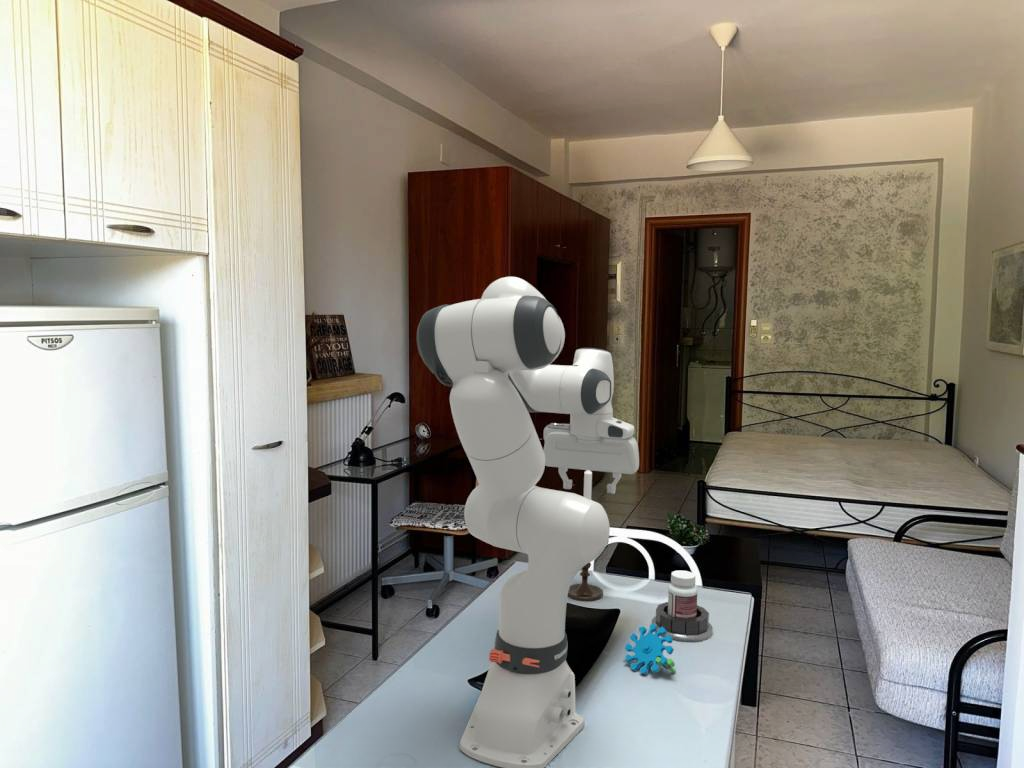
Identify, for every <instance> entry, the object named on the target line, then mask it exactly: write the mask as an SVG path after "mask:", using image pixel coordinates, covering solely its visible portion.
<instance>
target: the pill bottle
mask: <svg viewBox="0 0 1024 768" xmlns="http://www.w3.org/2000/svg"><path fill="white" fill-rule="evenodd" d="M670 582H671V583H670V584H669V586H668V595H667V596H668V597H667V602H668V615H670V616H673V617H676V618H682V619H695V618H696V615H697V605H698V588H697V587H696V585H695V584H696V574H695V573H693V572H691V571H688V570H674V571H671V574H670Z"/></svg>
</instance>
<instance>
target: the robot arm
mask: <svg viewBox="0 0 1024 768" xmlns="http://www.w3.org/2000/svg"><path fill="white" fill-rule="evenodd" d="M565 338H566V331H565V328H564V323H563V322H562V319H561V317H560V316H559V314H558V311H557V309H556V308H555V307H554V305H553V304H552V303H550V302H549V301H548V300H547V299H546V297H545V296H544V294H542V293H541V292H540V291H539V290H538V289H537V288H536V287H534V286H533V285H532V284H531V283H529V282H528V281H526V280H525V279H523V278H520V277H517V276H505V277H500V278H498V279H496V280H494V281H492V282H491V283H490V284H489V285H488V286H487V287H486V289H484V291H483V293H482V295H481V298H477V299H472V300H466V301H462V302H458V303H453V304H445V303H444V304H442V305H439V306H437V307H434V308H432V309H431V308H430V310H427V311H425V313H424V314H423V315H422V316H421V318H420V321H419V323H418V325H417V330H416V345H417V351H418V354H419V356H420V357H421V359H422V361H423V363H424V365H425V366H426V368H428V369H429V371H430V372H431V373H432V374H434V376H435V377H436V379H437V380H438V382H439V383H440V384H443V385H444V386H447V387H450V388H451V389H450V393H449V404H450V409H451V410H450V411H451V415H452V419H453V423H454V426H455V429H456V433H457V435H458V438H459V441H460V443H461V446H462V448H463V450H464V452H465V454H466V457H467V458H468V461H469V463H470V465H471V468H472V470H473V472H474V475H475V477H476V480H477V483H478V484H477V486H476V487H475V488H474V489H472V491H471V492H470V494H469V495H468V497H467V499H466V502H465V506H464V510H463V511H464V513H463V516H464V521H465V525H466V526H465V527H466V529H467V531H468V532H469V534H470V535H472V536H473V537H474V538H476V539H478V540H480V541H482V542H485V543H486V544H489V545H491V546H493V547H496V548H500V549H504V550H510V551H512V552H513V551H514V552H518V553H521V554H522V553H523V554H526V555H527V558H528V565H527V568H526V570H524V571H520V572H518V573H515V574H514V575H512V576H510V577H509V578H508V579H507V580H506V581H505V582H504V583H503V585H502V587H501V589H500V591H499V600H498V601H499V605H498V606H499V607H498V613H499V614H498V629H497V631H496V636H495V640H494V643H493V644H494V645H493V648H491V649H490V651H489V655H488V656H489V657H488V660H489V662H490V665H489V668H488V671H487V674H486V677H485V679H484V682H483V686H482V688H481V692H480V696H479V697H478V699H477V701H476V703H475V706H474V708H473V710H472V713H471V715H470V717H469V719H468V722H467V725H466V727H465V728H464V730H463V733H462V737H461V738H460V741H459V747H458V748H459V750H460V751H461V752H462V753H464V754H465V755H466V756H468V757H470V758H472V759H474V760H476V761H479V762H481V763H485V764H488V765H492V766H496V767H500V768H546V766H548V765H549V763H551V762H552V760H553V759H554V758H555V757H556V756H557V755H558V754H559V753H560V752H561V751H562V750H563V749H564V748H565V747H567V745H568V744H569V743H570V742H571V741H572V740H573V738H574V737H575V736H577V734H578V733H580V732H581V730H582V729H583V728H584V727H585V721H584V719H585V718H583V716H581V715H580V714H579V713H577V711H576V680H575V679H576V677H575V676H576V675H575V674H574V672H573V671H572V669H571V667H570V666H569V664H568V662H567V660H566V659H567V657H568V649H569V648H568V647H569V646H568V635H567V633H566V631H565V630H566V616H567V614H566V613H567V604H568V603H567V602H568V591H569V588H570V586H571V585H572V583H573V581H574V579H575V578H576V576H577V574H579V573H578V572H580V571H581V570H582V568H583V567H584V566H585V565H586V564H588V563H591V562H593V561H595V560H596V559H597V558H599V556H600V555H601V554H602V553H603V552H604V550H605V548H606V546H607V545H608V544H607V542H608V543H609V541H608V538H609V537H610V529H611V527H610V521H609V520H610V519H609V518H608V517H609V516H608V513H607V511H606V510H605V508H604V506H603V505H602V504H601V503H600V502H598V501H595V500H592V499H591V500H590V499H588V498H586V497H584V495H583V496H582V495H580V494H577V493H575V492H569V491H563V490H556V489H550V488H545V487H540V486H537V483H538V482H539V481H540V480H541V478H542V476H543V474H544V472H545V466H546V467H550V468H551V467H552V468H558V474H559V476H560V478H561V479H562V482H563V483H562V484H563V485H562V486H563V487H562V488H563V489H565V490H571V489H572V487H573V479H569V477H568V474H567V472H568V470H569V469H573V470H583V471H586V470H590V471H591V472H593V471H594V472H603V473H612V479H613V481H612V482H611V483H608V484H607V485H606V494H611V495H614V494H615V493H616V490H617V489H616V488H617V487H616V486H617V484H618V483H619V481H620V479H621V478H622V474H625V475H633V474H635V473H636V472H637V471H639V467H640V452H639V446H638V442H637V440H636V438H635V437H634V434H635V426H634V425H633V424H631V423H628V422H625V421H623V420H622V419H621V420H620V419H618V418H616V417H614V415H613V414H614V408H613V405H612V398H613V396H614V392H615V391H614V387H615V380H614V379H615V376H614V375H615V373H614V363H613V357H612V354H611V352H609V351H608V350H605V349H603V348H596V347H581V348H578V349H576V350H575V352H574V357H573V363H572V365H564V364H563V365H562V364H561V365H560V364H552V363H553V362H555V360H556V359H557V358H558V357H559V355H560V353H561V352H562V351H563V348H564V344H565ZM530 413H554V414H565V415H570V416H569V417H570V418H569V419H570V420H569V421H570V422H569V423H557V422H551V423H549V424H547V425H546V426H545V427H544V429H543V440H544V446H542V444H541V441H540V439H539V435H538V433H537V431H536V428H535V425H534V423H533V420H532V418H531V415H530ZM609 539H610V538H609ZM606 544H607V545H606Z"/></svg>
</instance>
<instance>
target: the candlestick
mask: <svg viewBox="0 0 1024 768" xmlns="http://www.w3.org/2000/svg"><path fill="white" fill-rule="evenodd" d="M583 476H584V477H583V497H586V498H588V499H590V500H592V490H593V489H592V488H593V471H592V470H584V475H583ZM609 539H610V538H608V542H607V544H606V546H607V545H608V544H609V542H610V541H609ZM591 566H592V564H591V562H590V563H588V564H586V565H585V566H584V567H583V568H581V572H580V573H579V576H580V577H581V583H575V584H571V585H570V588H569V591H568V596H567V598H569V599H572V600H575V601H580V602H595V601H599V600H600V599H602V598H603V597H604V590H603V589H602V588H600V587H598V586H597V585H593V584H590V583H588V581H589V580H588V577H590V576H591V573H590V572H589V569H590V568H591Z"/></svg>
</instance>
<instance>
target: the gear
mask: <svg viewBox="0 0 1024 768" xmlns="http://www.w3.org/2000/svg"><path fill="white" fill-rule="evenodd" d="M648 628H649V629H648V631H647V628H646V626H640V627H639V628H638V632H639V634H640V635H639V638H638V635H637V634H636V633H635V632H634V633H632V634H631V635H629V639H630V640H631V641H632V642H634V644H635V646H634V647H633V646H632V645H631V644H630V643H626V645H625V646H624V649H625V651H626V652H631V653H634V655H631V654H629V653H628V654H626V655H625V661H626V663H629V664H630V663H631V664H630V668H631V669H632V670H633V672H637V671H638V670H639V672H640V673H641V674H642V675H644V676H645V675H646V676H647V675H648V673H649V668H650V670H651V672H653V673H658V672H660V668H659V666H662V667H663V668H664V669H665V670H666V671H670V672H671V673H672V674H676V672H677V671H676V670H675V668H674V667H675V665H676V663H675V661H674V660H673V659H672V658H667V657H665V656H664V653H663V652H664V650H665V652H666V653H667V654H668V655H672V654H673V652H674V651H675V650H674V648H673V646H671V645H664V643H665V642H667V644H672V643H673V640H672V637H671V635H667V636H665V637H661V636H660V635H665V634H666V633H667V631H666V630H665V629H664V628H663V627H661V628H660V629H659V630H658V632H656V633H655V631H656V630H657V627H656V625H654V624H652V623H650V625H649V627H648ZM633 661H637V662H633Z"/></svg>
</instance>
